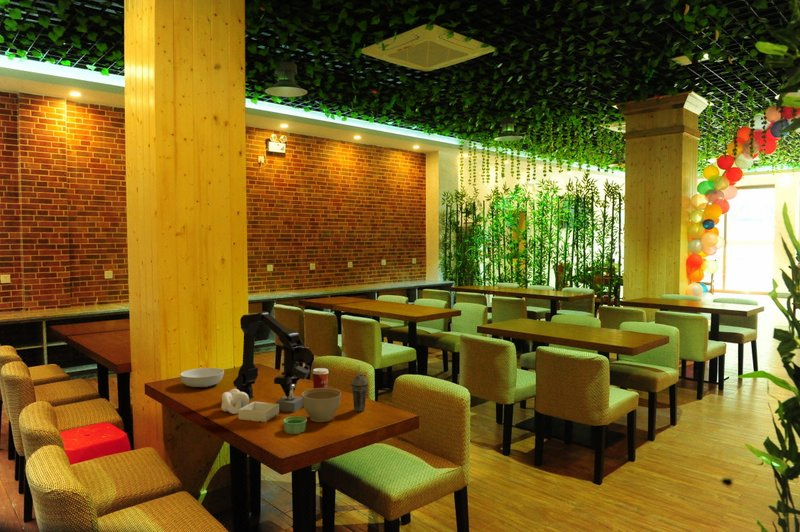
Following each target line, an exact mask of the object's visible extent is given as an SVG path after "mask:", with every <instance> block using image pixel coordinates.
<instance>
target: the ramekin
mask: <svg viewBox="0 0 800 532" xmlns="http://www.w3.org/2000/svg"><path fill="white" fill-rule="evenodd" d="M307 421H308V419H307V417H305V416H300V415H299V416H296V415H295V416H293V415H292V416H287V417H286V418H284V419H283V427H284V428H283V429H284V432H285V433H286V434H288V433H289V435H297V434H296V433H299V434H302V433H301V432H303V433H304V432H306V430H307V429H306V428H307Z"/></svg>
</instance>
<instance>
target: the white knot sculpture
mask: <svg viewBox="0 0 800 532" xmlns="http://www.w3.org/2000/svg"><path fill="white" fill-rule="evenodd" d="M221 401H222V402H221V410H222V411H223V412H228V413H229V414H232V415H237V414H239V409H241V408H243V407H245V406H246V405H248V404H250V399H249V397H248V395H247V394H246V393H244V392H240V391H239V390H238V389H237V388H232V389H230V390H228V391H225V392H223V393H222V395H221Z"/></svg>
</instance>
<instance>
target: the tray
mask: <svg viewBox="0 0 800 532" xmlns="http://www.w3.org/2000/svg"><path fill="white" fill-rule="evenodd" d="M279 414H280V411H279V404H276V403H272V402H271V403H270V402H262V401H252V402H249V403H248V405H246V406H245V407H243V408H241V409H239V413H238V420H241V421H242V420H243V421H244V420H245V421H250V420H251V422H259V421H261V422H260V423H266V422H268V421H269V420H271V419H273V418H274V417H275V415H276V416H278V415H279ZM267 420H268V421H267Z"/></svg>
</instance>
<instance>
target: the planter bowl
mask: <svg viewBox="0 0 800 532" xmlns="http://www.w3.org/2000/svg"><path fill="white" fill-rule="evenodd" d="M301 397H302V399H303V408H304V411H305V412H306V414H307V416H308V417H309V420H310V421H312V422H314V423H326V422H330V421H332V420H333V419H334V416H335V414H336V413H337V411H338V409H339V406H340V404H341V397H342V392H341V391H340V390H338V389H335V388H328V387H327V388H315V389H314V388H311V389H307V390H305V391H303V392H302V393H301Z"/></svg>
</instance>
